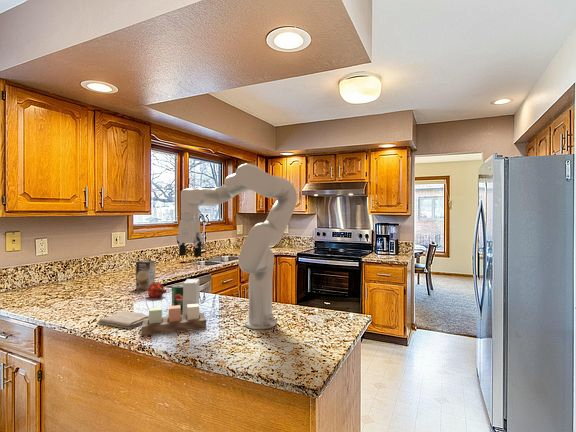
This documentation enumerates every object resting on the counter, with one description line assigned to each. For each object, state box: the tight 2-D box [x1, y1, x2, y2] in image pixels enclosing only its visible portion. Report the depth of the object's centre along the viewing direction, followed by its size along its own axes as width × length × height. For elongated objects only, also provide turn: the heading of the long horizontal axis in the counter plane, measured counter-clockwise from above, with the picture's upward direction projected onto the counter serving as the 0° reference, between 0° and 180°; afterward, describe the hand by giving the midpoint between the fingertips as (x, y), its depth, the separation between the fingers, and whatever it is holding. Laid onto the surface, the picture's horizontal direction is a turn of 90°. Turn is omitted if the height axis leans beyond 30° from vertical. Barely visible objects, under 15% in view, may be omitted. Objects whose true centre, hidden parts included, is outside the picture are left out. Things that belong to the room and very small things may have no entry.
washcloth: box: [98, 310, 149, 330], centre depth 136 cm, size 12×18×3 cm, turn 69°
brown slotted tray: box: [141, 312, 207, 336], centre depth 129 cm, size 23×10×3 cm, turn 110°
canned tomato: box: [171, 283, 183, 312], centre depth 155 cm, size 8×8×11 cm
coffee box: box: [135, 259, 156, 290], centre depth 197 cm, size 9×6×16 cm
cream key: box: [187, 303, 200, 320], centre depth 132 cm, size 4×4×5 cm
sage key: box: [148, 306, 163, 324], centre depth 127 cm, size 4×4×5 cm
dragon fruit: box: [146, 281, 167, 299], centre depth 176 cm, size 8×8×12 cm
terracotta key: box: [168, 305, 182, 322], centre depth 129 cm, size 4×4×5 cm
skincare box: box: [182, 278, 200, 315], centre depth 147 cm, size 8×6×15 cm
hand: (190, 255), depth 145 cm, fingers open, 9 cm apart
